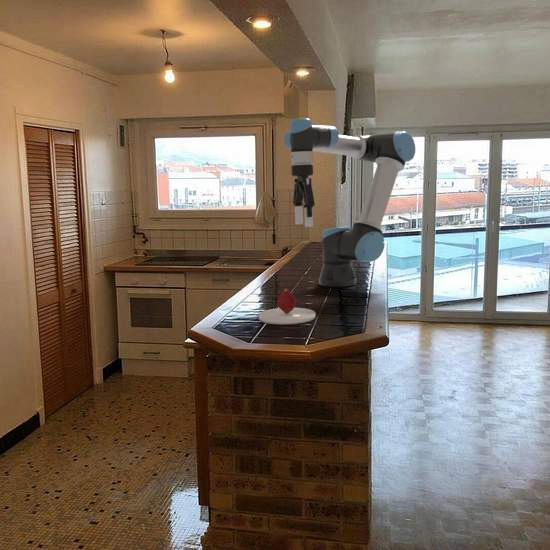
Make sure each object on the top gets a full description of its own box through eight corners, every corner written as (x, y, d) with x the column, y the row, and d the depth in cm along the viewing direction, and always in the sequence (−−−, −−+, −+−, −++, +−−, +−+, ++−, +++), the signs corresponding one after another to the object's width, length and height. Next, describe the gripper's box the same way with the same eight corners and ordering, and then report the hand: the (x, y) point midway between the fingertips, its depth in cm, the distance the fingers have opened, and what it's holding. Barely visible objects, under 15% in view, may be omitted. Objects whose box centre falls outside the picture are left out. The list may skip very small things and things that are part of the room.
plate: (307, 309, 198) (307, 305, 198) (322, 321, 181) (322, 317, 181) (254, 313, 195) (253, 310, 194) (264, 326, 177) (264, 322, 177)
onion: (285, 310, 192) (284, 286, 190) (299, 312, 188) (299, 287, 187) (274, 314, 187) (273, 289, 186) (288, 316, 184) (287, 291, 182)
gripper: (283, 165, 218) (285, 223, 221) (300, 163, 194) (302, 228, 197) (303, 165, 220) (305, 222, 223) (322, 162, 195) (324, 227, 199)
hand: (304, 225), depth 210 cm, fingers open, 13 cm apart
